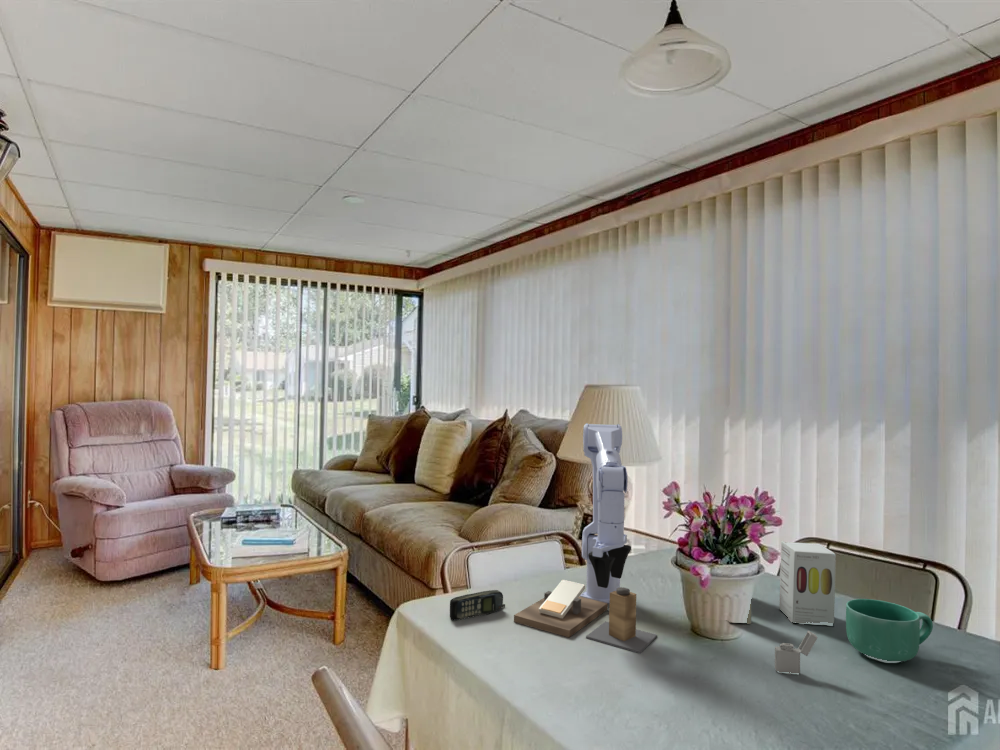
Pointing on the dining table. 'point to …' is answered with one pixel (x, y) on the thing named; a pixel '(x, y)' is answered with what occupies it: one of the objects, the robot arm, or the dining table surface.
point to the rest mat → (631, 644)
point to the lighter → (793, 654)
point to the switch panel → (571, 622)
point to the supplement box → (807, 582)
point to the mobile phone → (476, 604)
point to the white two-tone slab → (561, 598)
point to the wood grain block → (622, 614)
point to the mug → (885, 629)
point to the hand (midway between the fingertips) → (609, 582)
